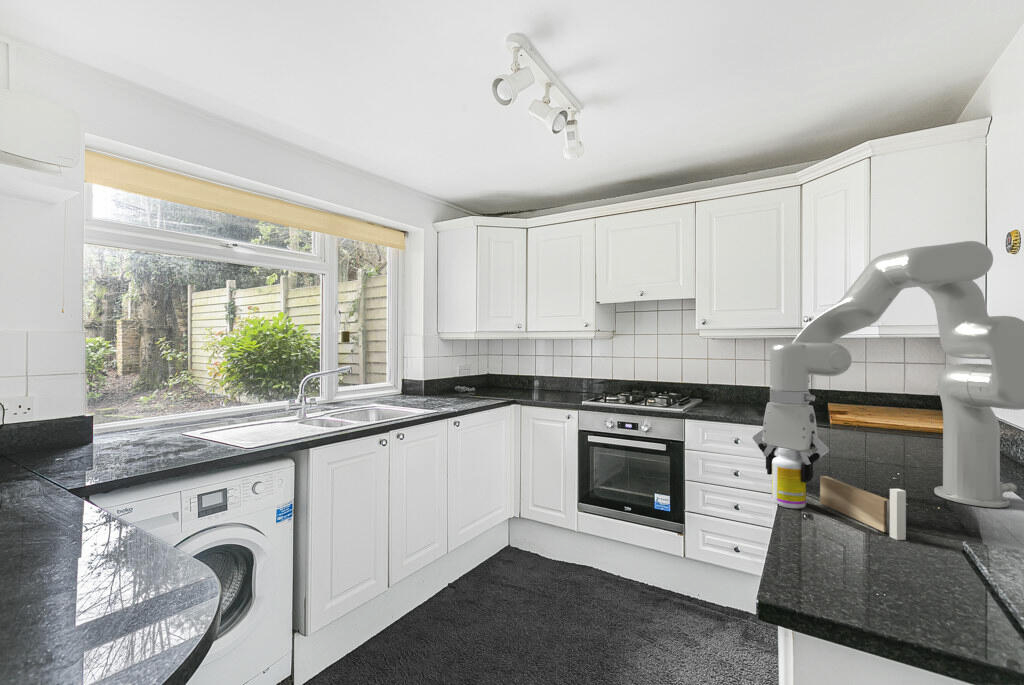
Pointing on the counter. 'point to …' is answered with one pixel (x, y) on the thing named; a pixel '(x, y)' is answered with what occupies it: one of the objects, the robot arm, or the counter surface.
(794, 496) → the supplement bottle
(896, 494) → the gate post
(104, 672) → the counter surface
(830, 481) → the wooden plank
